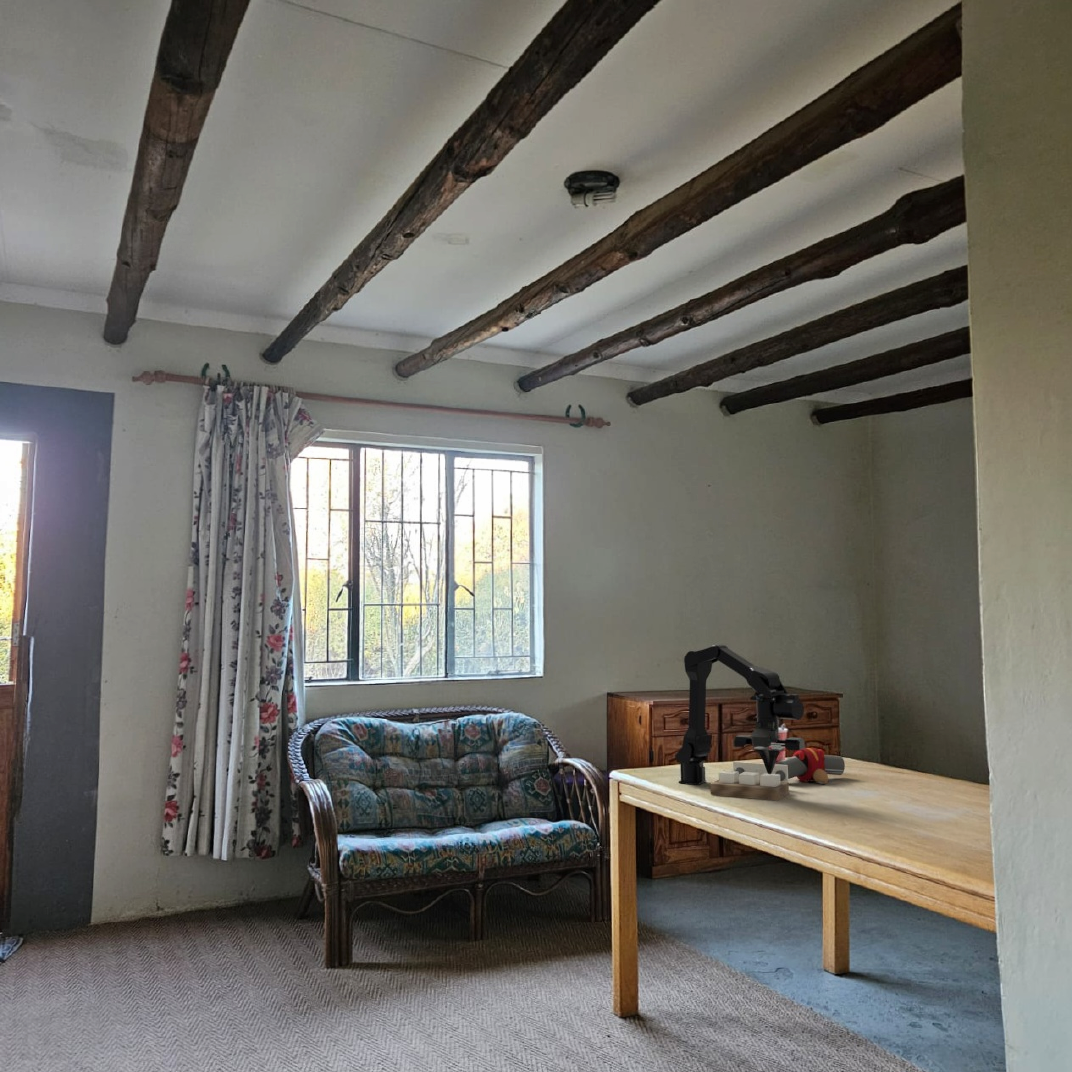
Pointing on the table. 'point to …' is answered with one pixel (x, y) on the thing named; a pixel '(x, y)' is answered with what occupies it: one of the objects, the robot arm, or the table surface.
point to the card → (761, 769)
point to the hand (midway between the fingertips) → (769, 773)
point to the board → (750, 790)
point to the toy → (813, 765)
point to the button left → (729, 777)
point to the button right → (770, 780)
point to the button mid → (749, 778)
